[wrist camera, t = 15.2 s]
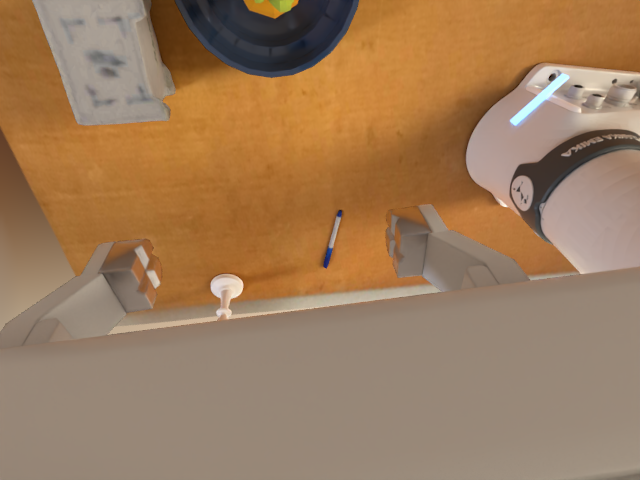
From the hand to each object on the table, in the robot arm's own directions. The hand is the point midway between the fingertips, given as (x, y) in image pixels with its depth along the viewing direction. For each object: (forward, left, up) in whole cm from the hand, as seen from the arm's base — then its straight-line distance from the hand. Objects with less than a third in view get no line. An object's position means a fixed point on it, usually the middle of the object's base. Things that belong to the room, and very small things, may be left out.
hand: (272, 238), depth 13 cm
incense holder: (+13, -2, -32) cm, 34 cm away
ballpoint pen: (-5, +26, -32) cm, 42 cm away
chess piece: (+12, +32, -32) cm, 47 cm away
